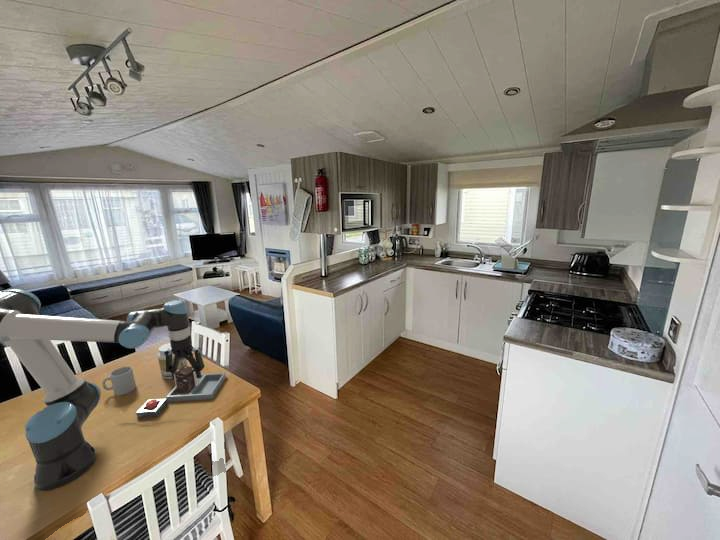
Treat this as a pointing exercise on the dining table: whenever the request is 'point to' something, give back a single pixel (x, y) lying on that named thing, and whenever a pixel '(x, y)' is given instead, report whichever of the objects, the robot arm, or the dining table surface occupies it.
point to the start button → (151, 404)
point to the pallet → (200, 388)
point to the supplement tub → (163, 361)
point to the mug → (121, 381)
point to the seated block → (184, 390)
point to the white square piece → (145, 412)
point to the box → (185, 378)
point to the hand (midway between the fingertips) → (188, 384)
